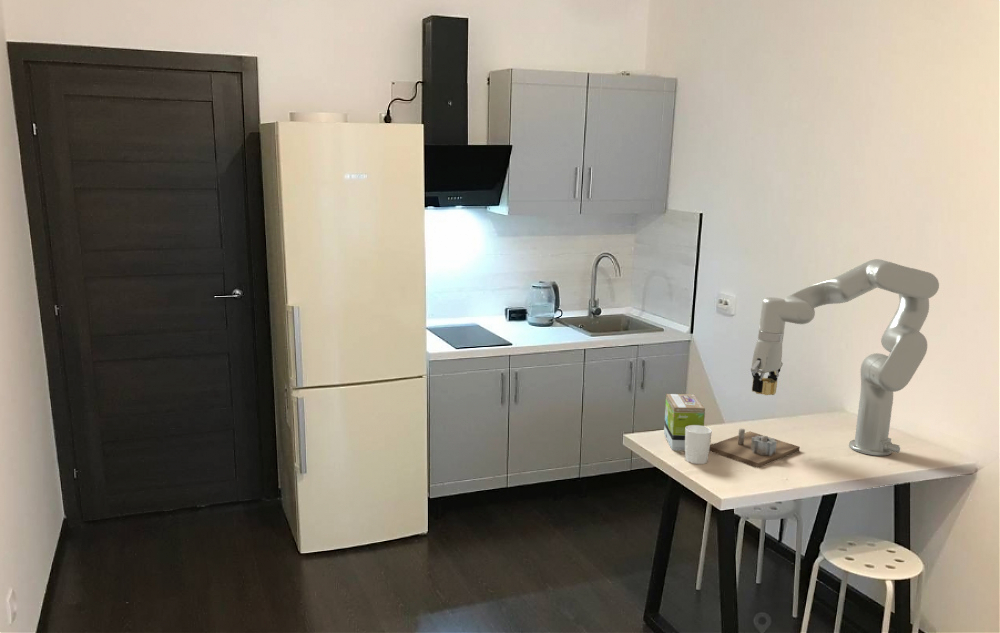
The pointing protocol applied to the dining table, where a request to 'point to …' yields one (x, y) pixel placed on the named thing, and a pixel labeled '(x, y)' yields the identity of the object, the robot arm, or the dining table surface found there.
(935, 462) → the dining table surface
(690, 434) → the white cup
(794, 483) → the dining table surface
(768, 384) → the brass gear
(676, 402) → the tea box
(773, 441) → the grey gear
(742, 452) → the gear board
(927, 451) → the dining table surface
